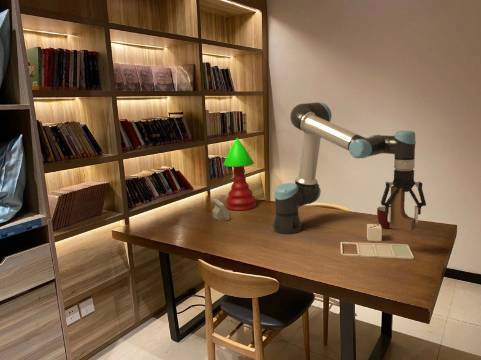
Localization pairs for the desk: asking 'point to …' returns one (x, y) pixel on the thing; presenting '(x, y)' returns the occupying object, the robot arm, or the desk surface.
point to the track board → (380, 250)
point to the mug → (383, 218)
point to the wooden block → (400, 212)
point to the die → (374, 232)
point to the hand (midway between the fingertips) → (402, 221)
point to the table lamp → (239, 178)
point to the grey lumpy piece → (219, 210)
